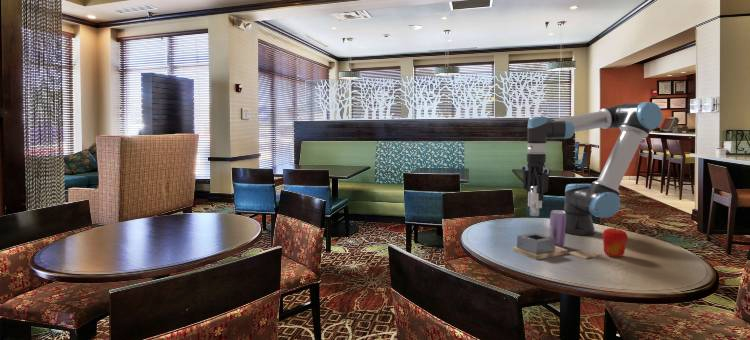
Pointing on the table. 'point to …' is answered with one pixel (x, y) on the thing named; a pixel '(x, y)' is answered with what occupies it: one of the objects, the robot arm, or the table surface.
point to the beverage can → (558, 227)
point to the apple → (614, 242)
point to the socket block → (536, 243)
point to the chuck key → (533, 201)
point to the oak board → (539, 256)
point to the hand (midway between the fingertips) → (534, 206)
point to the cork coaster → (583, 254)
